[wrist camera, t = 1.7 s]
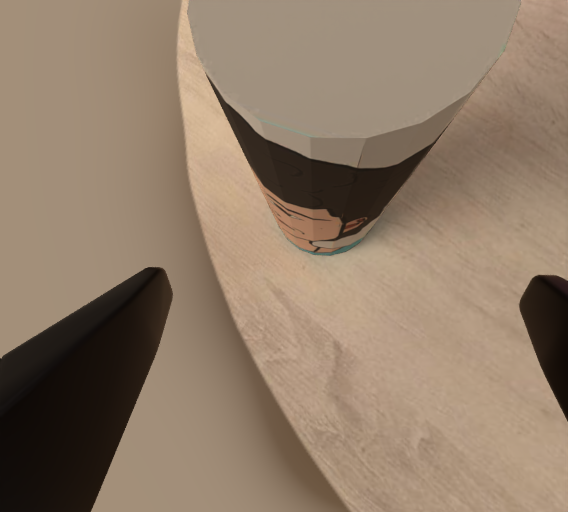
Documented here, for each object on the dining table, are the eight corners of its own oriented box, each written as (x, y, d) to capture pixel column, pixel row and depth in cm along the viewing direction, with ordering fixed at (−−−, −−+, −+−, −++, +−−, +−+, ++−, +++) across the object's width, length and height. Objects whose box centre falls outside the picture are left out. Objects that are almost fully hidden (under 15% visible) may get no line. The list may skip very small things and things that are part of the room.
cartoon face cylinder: (287, 152, 22) (230, -154, 7) (384, 168, 21) (543, -141, 6) (265, 244, 21) (149, 111, 6) (364, 265, 20) (496, 168, 6)
